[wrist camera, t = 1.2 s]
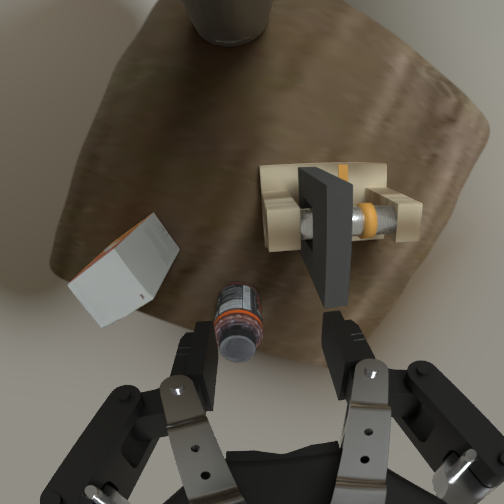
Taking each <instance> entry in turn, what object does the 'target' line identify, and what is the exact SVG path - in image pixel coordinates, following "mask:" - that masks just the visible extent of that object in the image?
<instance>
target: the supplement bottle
mask: <svg viewBox="0 0 504 504" xmlns="http://www.w3.org/2000/svg"><path fill="white" fill-rule="evenodd" d="M262 323H263V322H262V313H261V301H260V297H259V294H258V292H257V290H256V289H255V288H254V287H253V286H251V285H249V284H247V283H243V282H234V283H231V284H228V285H227V286H225V287H224V288H223V289H222V290H221V292H220V294H219V297H218V301H217V307H216V313H215V320H214V330H215V335H216V341H217V345H218V346H219V347H220V353H221V355H222V356H223V357H224V358H225V359H227V360H229V361H231V362H245V361H248V360H249V359H251V357H253V356H254V354H255V351H256V348H257V347H258V346H259V344H260V343H261V341H262V338H263V324H262Z"/></svg>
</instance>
